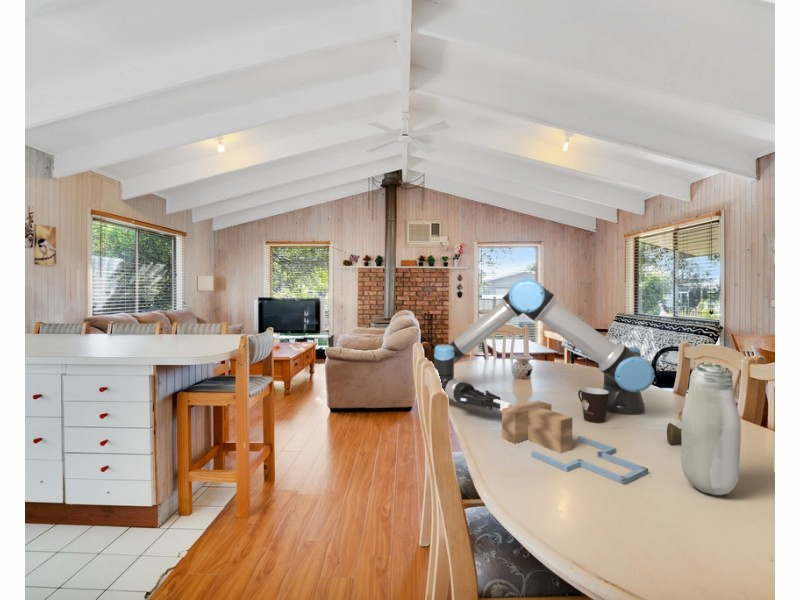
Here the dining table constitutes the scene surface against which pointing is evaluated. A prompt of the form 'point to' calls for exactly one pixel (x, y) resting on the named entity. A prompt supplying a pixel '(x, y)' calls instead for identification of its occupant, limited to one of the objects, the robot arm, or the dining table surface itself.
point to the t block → (537, 426)
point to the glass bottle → (711, 431)
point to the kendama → (673, 434)
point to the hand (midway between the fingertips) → (509, 408)
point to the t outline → (606, 455)
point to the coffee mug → (594, 404)
